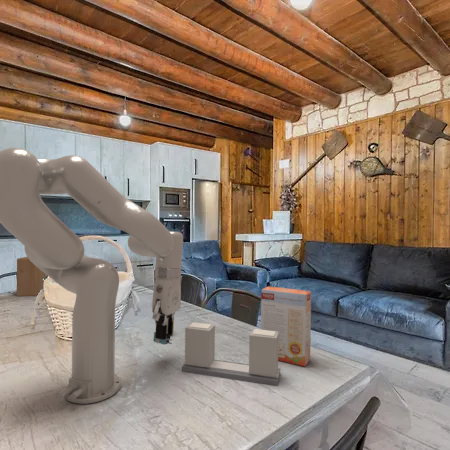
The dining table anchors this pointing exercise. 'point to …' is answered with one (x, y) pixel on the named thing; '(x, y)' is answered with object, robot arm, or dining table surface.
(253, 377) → the board
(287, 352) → the cracker box
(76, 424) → the dining table surface
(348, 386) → the dining table surface
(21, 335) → the dining table surface
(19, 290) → the wooden block
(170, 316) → the push button
